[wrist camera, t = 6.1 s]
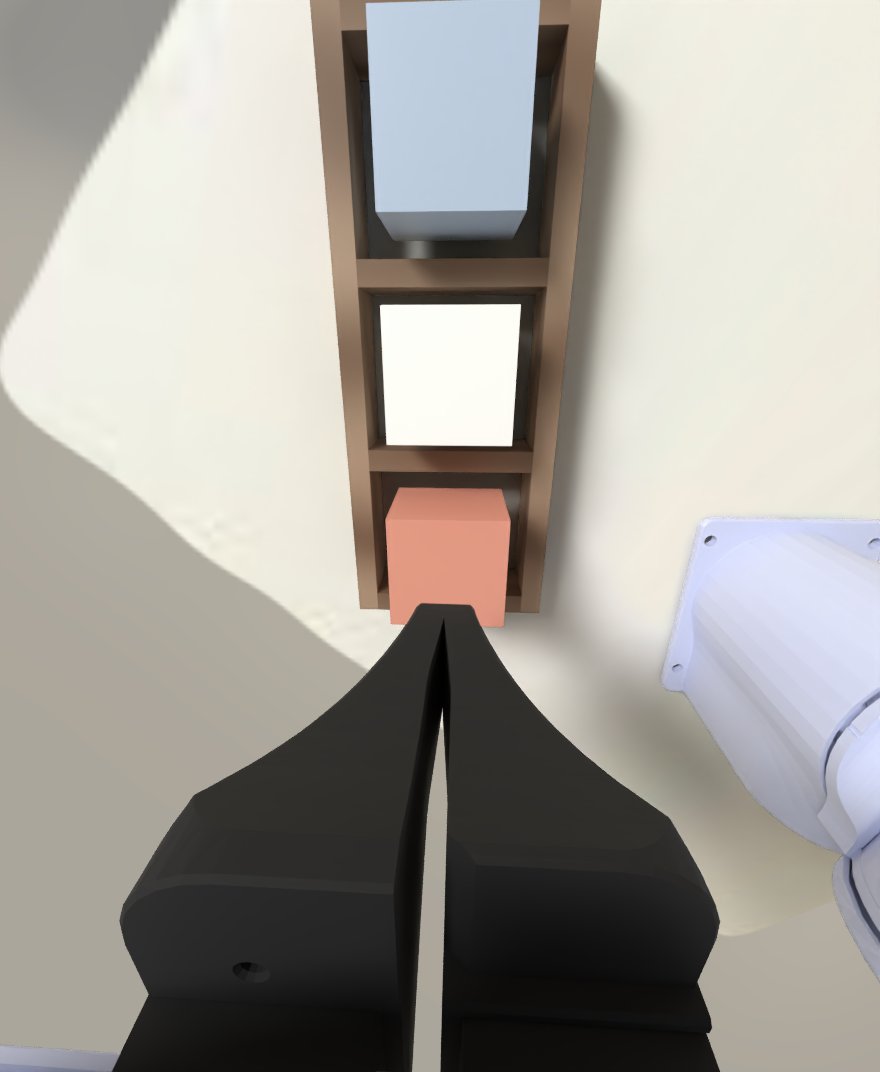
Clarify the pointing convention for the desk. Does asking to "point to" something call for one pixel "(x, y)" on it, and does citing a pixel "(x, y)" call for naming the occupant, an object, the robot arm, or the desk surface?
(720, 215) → the desk surface
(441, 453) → the frame
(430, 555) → the key terracotta
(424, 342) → the key white
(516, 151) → the key blue
